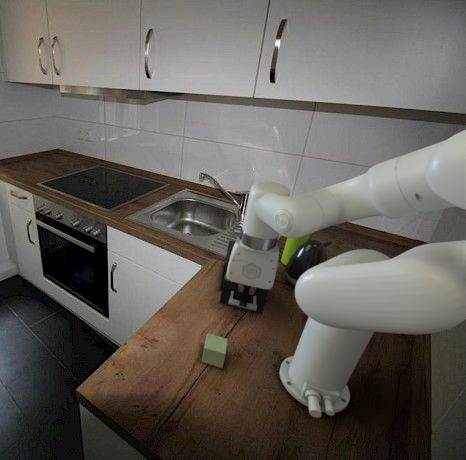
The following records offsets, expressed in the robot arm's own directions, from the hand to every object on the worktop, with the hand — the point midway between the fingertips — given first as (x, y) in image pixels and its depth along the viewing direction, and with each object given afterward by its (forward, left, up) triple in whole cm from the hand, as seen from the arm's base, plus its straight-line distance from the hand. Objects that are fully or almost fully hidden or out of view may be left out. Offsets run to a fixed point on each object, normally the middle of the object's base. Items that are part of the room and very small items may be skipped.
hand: (242, 302), depth 77 cm
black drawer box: (+19, 0, -6) cm, 20 cm away
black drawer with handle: (+8, 0, -6) cm, 10 cm away
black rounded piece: (+25, -16, -7) cm, 30 cm away
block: (-13, +5, -6) cm, 16 cm away
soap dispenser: (+36, -14, -7) cm, 39 cm away
